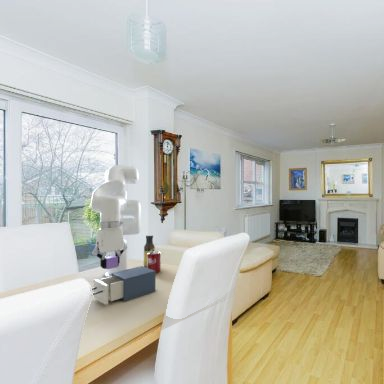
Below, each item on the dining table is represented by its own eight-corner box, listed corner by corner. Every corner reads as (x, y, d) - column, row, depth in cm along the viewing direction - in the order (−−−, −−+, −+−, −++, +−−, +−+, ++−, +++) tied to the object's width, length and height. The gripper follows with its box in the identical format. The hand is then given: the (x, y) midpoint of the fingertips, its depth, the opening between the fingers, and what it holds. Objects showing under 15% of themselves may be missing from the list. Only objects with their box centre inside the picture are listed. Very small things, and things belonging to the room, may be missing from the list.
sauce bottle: (153, 268, 157) (154, 236, 157) (142, 269, 156) (142, 236, 156) (155, 265, 164) (155, 234, 163) (144, 266, 162) (144, 234, 162)
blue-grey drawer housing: (124, 301, 112) (124, 279, 112) (111, 293, 120) (111, 273, 120) (155, 290, 123) (155, 270, 123) (141, 284, 131) (141, 265, 131)
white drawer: (89, 309, 102) (89, 290, 102) (78, 301, 109) (78, 283, 109) (137, 294, 117) (137, 277, 117) (125, 288, 124) (125, 272, 124)
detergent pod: (102, 267, 112) (102, 257, 112) (113, 265, 116) (113, 255, 116) (106, 269, 110) (107, 258, 110) (117, 266, 113) (118, 256, 113)
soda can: (152, 276, 144) (152, 254, 144) (144, 273, 148) (144, 252, 148) (163, 272, 150) (163, 252, 150) (155, 270, 154) (155, 250, 154)
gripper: (125, 222, 122) (125, 261, 122) (85, 226, 108) (84, 269, 109) (133, 223, 117) (133, 264, 117) (92, 227, 104) (92, 273, 104)
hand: (110, 266), depth 113 cm, fingers closed on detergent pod, 4 cm apart
